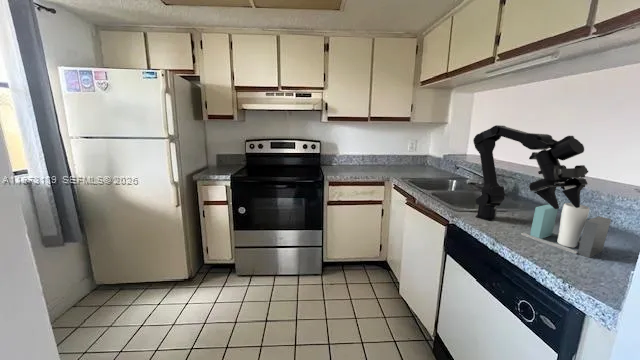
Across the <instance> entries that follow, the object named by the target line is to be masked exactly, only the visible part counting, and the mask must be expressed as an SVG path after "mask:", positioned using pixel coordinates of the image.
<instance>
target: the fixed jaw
mask: <svg viewBox="0 0 640 360" xmlns="http://www.w3.org/2000/svg"><path fill="white" fill-rule="evenodd" d="M611 221H612V218H608V217H603V216H596V217H593V218H590V219H587V220H586V223H585V225H584V228H583V230H582V233H581V237H580V238H581V239H580V240H578V243H577V245H579V246H578V250H576V249H572V248H571V247H566V246H563V245H560V244H559V243H556V242H552V241H549V240H548V239H547V240H546V239H545V238H542V239H541V238H538V237H535V236H532V235H530V234H528V233H526V232H524V231H523V232H521V236H523V237H527V238H528V239H533V240H535V241H537V242H540V243H543V244H546V245H549V246H552V247H554V248H558V249H560V250H563V251H566V252H569V253H571V254H574V255H580V256H583V257H586V258H588V259H589V258H592V257H594V256H596V255H598V254H600V253H603V251H604V247H605V246H604V245H605V242H606V240H607V239H606V238H607V235H608V232H609V228H610V224H611ZM558 235H559V233H555V232H553V233H552V235H551V236H553V237H556V238H558Z"/></svg>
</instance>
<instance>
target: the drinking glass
mask: <svg viewBox="0 0 640 360" xmlns="http://www.w3.org/2000/svg"><path fill="white" fill-rule="evenodd" d="M561 209H562V210H561V214H560V222H559V229H558V234H559V235H558V237H557V240H556V241H557V244H558V245H561V246H564V247H567V248H570V249H572V248H576V247H577V246H578V244H577V243H578V241H580V238H581V236H582V234H583V230H584V226H585V223H586V220H588V217H589V213H590V207H589V206H586V205H583V204H580V207H579V208H576V207H575V206H574V205H573V204H572V203H571V202H565V203H564V204H563V205H562V208H561Z"/></svg>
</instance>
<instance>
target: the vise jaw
mask: <svg viewBox="0 0 640 360" xmlns="http://www.w3.org/2000/svg"><path fill="white" fill-rule="evenodd" d="M558 212H559V209H554V208H553V207H552V206H551V205H550V204H549V203H548V204H544V205H540V206H535V209H534V214H533V218H532V219H533V220H532V222H531V223H532V224H531V229H530V234H529V235H532V236H535V237H538V238H541V239H545V238H548V237H551V236H553V235H552V233H554V228H555V224H556V219H557V215H558Z"/></svg>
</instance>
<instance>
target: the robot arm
mask: <svg viewBox="0 0 640 360" xmlns="http://www.w3.org/2000/svg"><path fill="white" fill-rule="evenodd" d="M501 138H506V139H509V140H512V141H515V142H517V143H519V144H521V145H522V146H523V147H525V148H527V149H529V150H532V151H533V152H531V155H530V156H529V157H528V158H529V159H528V160H535V161H536V163H537V165H538V167H539V171H537V172H538V175H541V176H542V177H543V178H541V179H538V180H536V181H532V182H530V183H529V186H528V187H529V190H530V192H533V193H534V194H536V195H537V196H539V197H540V198H542V199H543V200H544V201H545V202H546V203H548V204H550V205H551V206H552V207H553V208H554V209H558V210H559V209H560V205H559V202H558V198H557V196H556V190H557V188H560V189H561V190H562V191H561V192H562V193H563V194H564V195H565V197H566V198H567V199H568V201H569V203H572V204H573V205H574V206H575V207H576V208H579V207H580V205H581V198H580V197H581V192H582V190H583V189H584V188H585V187H586V186H587V185H588V181H587V179H586V175H587V174H588V173H589V170H588V169H587V167H586V166H585V165H583V164H582V165H575V166H574V168H567V166H566V165H563V164H561V163H560V161H565V160H568V159H571V158H573V157H576V156H578V155H580V154H583V153H584V152H585V146H584V144H583V143H581V142H580V141H579V140H578V139H577V138H575V136H574V135H567V136H564V138H562V139H560V140H556V139H553V136H552V135H550V134H548V133H533V132H532V133H531V132H526V131H523V130H520V129H516V128H512V127H508V126H505V125H501V124H500V125H493V126H492V127H490V128H488V129H486V130H483V131H481V132H480V133H477V134H476V135H475V136H474V138H473V144H474V149H475V150H476V151H477V152H478V153H479V157H480V164H481V170H482V175H483V176H482V177H483V183H484V185H483V186H482V188H481V195H480V196H479V197H476V198H475V203H476V205H478V209H477V213H476V215H475V218H479V219H482V220H486V221H491V222H492V221H493V220H494V219H496V218H497V214H498V213H497V212H498V209H497V207H499V206H500V205H501V204H502V203H503V201H504V200H505V196H506V193H505V187H504V186H503V185H502V186H501V185H500V184H499V183H498V178H497V172H496V165H495V159H494V153H493V151H494V150H495V148H496V142H497V141H499V140H501ZM536 151H538V152H536Z"/></svg>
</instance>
